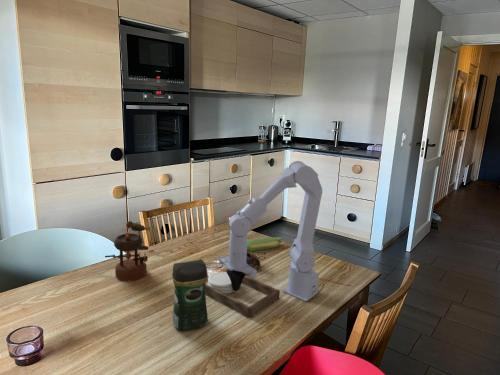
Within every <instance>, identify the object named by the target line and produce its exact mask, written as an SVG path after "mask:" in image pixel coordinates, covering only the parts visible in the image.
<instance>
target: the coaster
mask: <svg viewBox="0 0 500 375" xmlns="http://www.w3.org/2000/svg"><path fill="white" fill-rule="evenodd" d="M219 272H220V273H216V272H214V273H212V274H210V275H208V278H207V285H208V286H210V287H212V288H214V289H216V290H218V291H220V292H222V293H224V294H226V295H230V294H232V293H234V292H235V291H233V288H232V284H231V281H230V278H229V276H228V274H227V271H219Z"/></svg>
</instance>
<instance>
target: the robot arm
mask: <svg viewBox="0 0 500 375" xmlns="http://www.w3.org/2000/svg"><path fill="white" fill-rule="evenodd" d="M297 184H298V185H299V186H300V187H301V189H302V190H303V191H304V195H303V196H304V197H303V203H302V208H301V213H300V218H299V219H300V220H299V224H298V228H297V229H298V230H297V235H296V238H294V240H293V243H292V245H291V247H290V248H289V250H288V256H289V257H290V259H291V262H289V263H290V264H289V271H288V272H289V273H288V284H287V286H286V287H285V288H283V289H282V291H283V293H286V294H288V295H290V296H293V297H295V298H297V299H299V300H302V301H304V302H308V301H309V300H311V299H312V298H313V297H315V296H316V295H317V294H318V293H319V291H318V289H319V279H320V277H319V276H320V275H319V273H318V272H316V271H315V270H314V269H313V268H314V267H315V264H316V261H315V250H314V249H315V248H314V243H313V241H314V237H315V231H316V225H317V220H318V215H319V213H320V212H319V211H320V206H321V201H322V194H323V188H322V187H323V186H322V184H321V182H320V179H319V174H318V172H316V171H315V169H314V168H313V167H311V166H309V165H307V164H305V163H304V162H303V161H302V160H301V161H300V160H295V161H293V162H291V163H290V164H289V166H288V167H286V168H285V169H283V171H282V172H281V173H280V175H278V177H277V178H276V179H274V181H273V182H272V183H271V184H270V185H269V186H268V188H267V189H266V190H265V191H264V192H263V193H262V194H261V195H260V196H256V197H253V198H252V199H251V198H249V199H248V200H247V203H246V204H245V206H244V207H242V208H241V209H240V210H238V211H237V212H236V213H235V214H233V215H232V216H231V217H230V218H229V221H228V225H229V228H230V233H229V242H228V244H229V245H228V257H226V256H221V257H219V259H218V264H220V265H225V266H226V269H227V270H226V272H227V274H228V276H229V278H230V281H231V284H232V288H233V291H234V292H237V291H240V288H241V286H242V281H243V279H244V277H245V275H246V276H248V277H251V278H253V279H255V277H257V272H258V271H257V270H256V269H254V267H252V266H251V265H250V266H249V265H248V264H247V263H246V258H247V240H248V233H249V232H250V230H251V226H252V225H253V224H254V223H255V222H257V221H258V220H259V219H260V217H262V216H263V215H264V214H265V213H266V212H267V211H268V210H267V208H268V207H267V206H268V205H269V203H271V202H272V201H273V200H274V199H275V198H277V197H278V196H279V195H280V194H281V193H282V192H284V191H285V190H286V189H291V188H298V186H297Z"/></svg>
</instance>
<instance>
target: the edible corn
mask: <svg viewBox="0 0 500 375" xmlns="http://www.w3.org/2000/svg"><path fill="white" fill-rule="evenodd" d="M282 238H283V237H282V236H276V237H275V236H274V237H266V238H264V237H263V238H250V239H247V249H249V250H250V251H251V252H258V251H263V250H268V249H275V248H280V246H281V243H282V242H283V240H282Z"/></svg>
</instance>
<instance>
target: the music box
mask: <svg viewBox="0 0 500 375" xmlns="http://www.w3.org/2000/svg"><path fill="white" fill-rule="evenodd" d="M125 226H126V231H127V232H126V233H123V234H119V235H118V236H116V237H115V239H114V241H113V246H114V247H115V248H116V249H117V250H118V251H119V254H118V255H115V254H113V255H105V256H104V258H113V259H115V258H118V259H119V262H118V263H117V264H116V265H115V268H114V269H115V271H114V272H115V278H116V279H117V280H118V281H122V282H134V281H139V280H141V279H143V278H144V277H146V275H147V263H146V262H147V261H148V255H146V254H147V253H146V252H143V253H144V255H142V256H141V252H139V251H148V250H149V246H148V245H143V242H146V237H145V236H146V232H145V230H146V231H150V230H151V227H150V226H149V227H148V226H146V227H145V225H142V224H140V223H137V222H134V221H131V220H128V221H126V223H125ZM129 229H131V230H132V231H134V232H138V233H137V234H136V233H130V231H128V230H129ZM142 231H143V233H144V234H143V236H144V238H142V235H141V232H142ZM143 239H144V241H143ZM133 251H134V254H131V252H133ZM124 252H126V254H125V255H124ZM132 257H133V258H132ZM124 258H126V259H125V260H124Z"/></svg>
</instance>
